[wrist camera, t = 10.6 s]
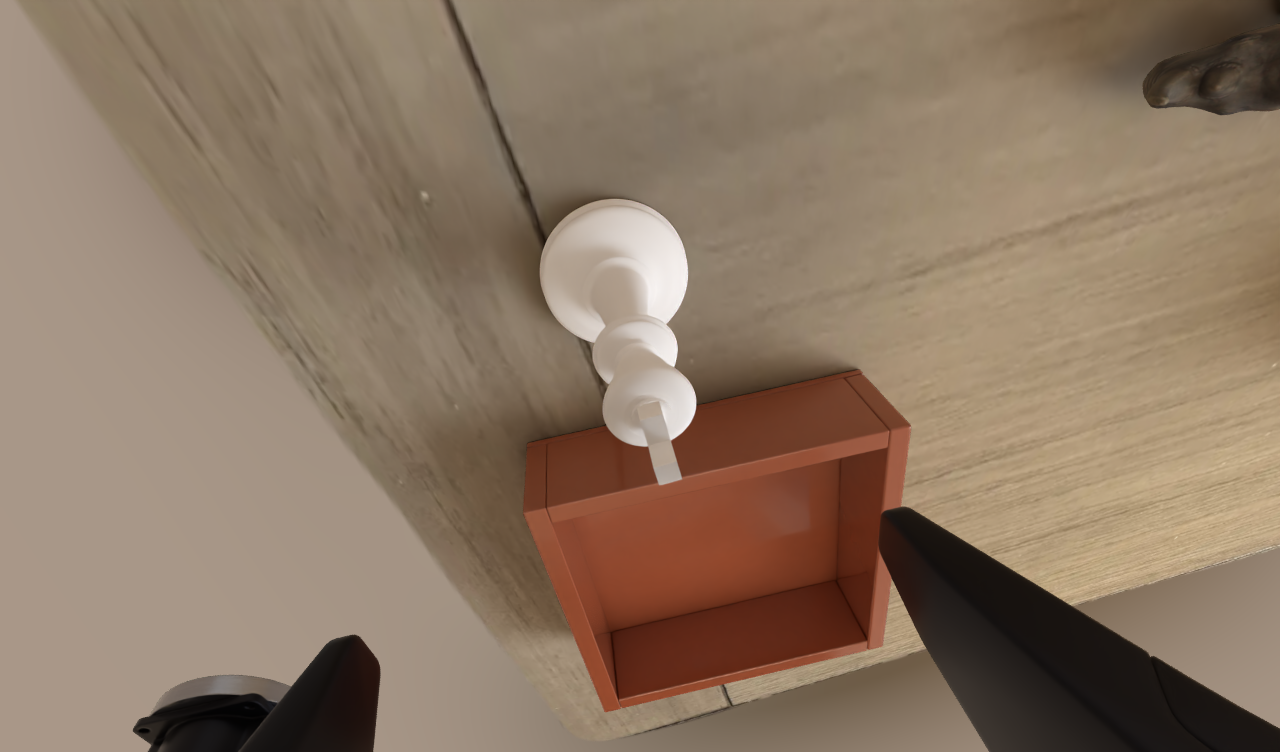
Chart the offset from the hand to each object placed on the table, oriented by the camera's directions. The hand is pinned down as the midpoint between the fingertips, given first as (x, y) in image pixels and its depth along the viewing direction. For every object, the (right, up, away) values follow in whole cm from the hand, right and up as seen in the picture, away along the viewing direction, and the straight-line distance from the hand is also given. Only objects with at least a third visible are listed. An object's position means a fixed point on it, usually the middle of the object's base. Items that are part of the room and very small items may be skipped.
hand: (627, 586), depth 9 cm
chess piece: (-1, +7, +9) cm, 12 cm away
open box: (+3, -3, +16) cm, 17 cm away
